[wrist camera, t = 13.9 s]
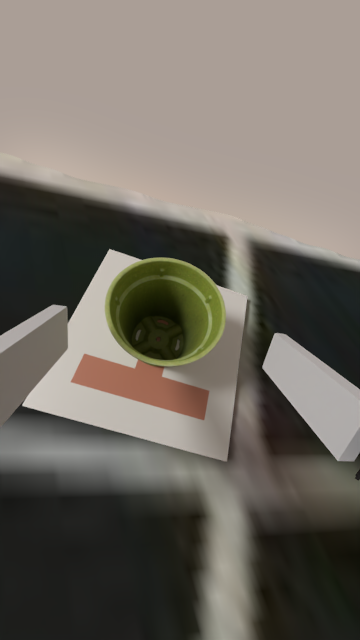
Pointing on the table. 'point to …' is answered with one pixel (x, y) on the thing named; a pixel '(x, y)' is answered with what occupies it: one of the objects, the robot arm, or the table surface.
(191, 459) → the table surface
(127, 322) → the plant pot
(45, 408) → the letter board
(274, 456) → the table surface
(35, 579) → the table surface
